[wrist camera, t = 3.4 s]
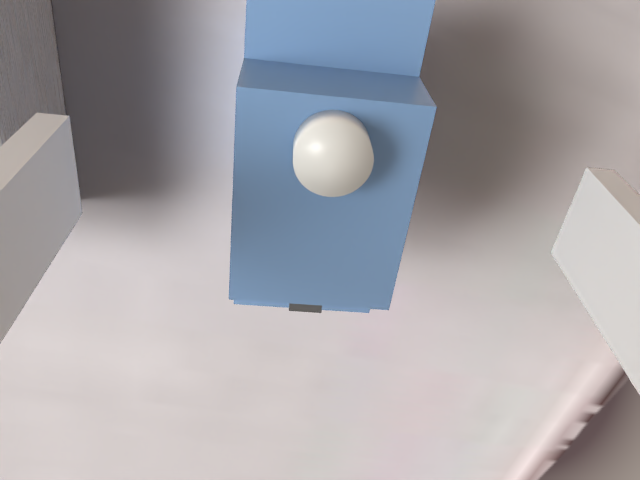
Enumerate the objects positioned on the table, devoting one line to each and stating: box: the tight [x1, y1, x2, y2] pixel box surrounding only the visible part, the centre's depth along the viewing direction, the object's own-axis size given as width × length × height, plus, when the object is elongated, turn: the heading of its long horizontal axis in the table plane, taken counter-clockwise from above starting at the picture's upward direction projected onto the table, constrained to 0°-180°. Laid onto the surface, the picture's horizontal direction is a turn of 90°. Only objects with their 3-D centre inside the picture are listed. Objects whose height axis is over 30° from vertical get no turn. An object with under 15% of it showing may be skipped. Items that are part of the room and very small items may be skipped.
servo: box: [229, 0, 437, 313], centre depth 17 cm, size 10×4×9 cm, turn 173°
